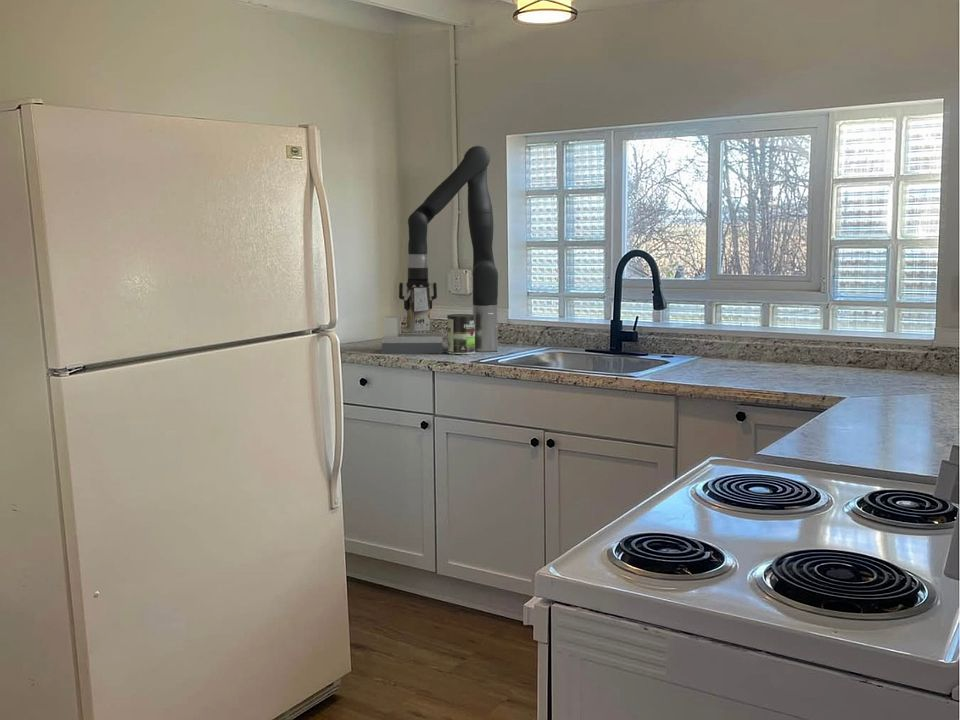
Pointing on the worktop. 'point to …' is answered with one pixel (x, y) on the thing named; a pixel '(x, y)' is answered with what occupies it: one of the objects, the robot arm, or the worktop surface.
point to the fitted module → (391, 326)
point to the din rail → (415, 338)
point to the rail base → (412, 348)
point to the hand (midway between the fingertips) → (418, 310)
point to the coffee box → (418, 309)
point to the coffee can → (461, 334)
